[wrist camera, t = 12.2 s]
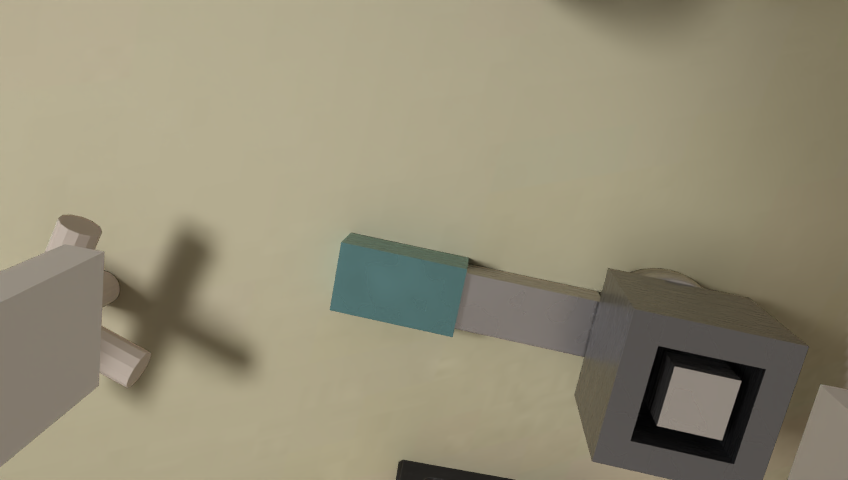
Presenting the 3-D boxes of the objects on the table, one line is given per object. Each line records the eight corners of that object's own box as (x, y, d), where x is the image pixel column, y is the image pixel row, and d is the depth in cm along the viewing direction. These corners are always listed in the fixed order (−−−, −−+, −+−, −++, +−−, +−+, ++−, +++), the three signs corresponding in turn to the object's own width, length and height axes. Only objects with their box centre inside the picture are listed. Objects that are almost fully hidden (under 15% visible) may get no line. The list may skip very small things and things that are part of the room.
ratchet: (356, 203, 34) (314, 237, 26) (735, 283, 33) (810, 344, 25) (335, 323, 35) (290, 390, 27) (697, 403, 34) (757, 496, 26)
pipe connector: (224, 252, 35) (120, 314, 25) (151, 407, 37) (30, 519, 27) (51, 158, 35) (-120, 184, 25) (-11, 319, 37) (-191, 400, 27)
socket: (608, 268, 31) (634, 308, 25) (749, 297, 31) (809, 346, 25) (574, 394, 32) (592, 461, 27) (708, 424, 32) (756, 498, 26)
